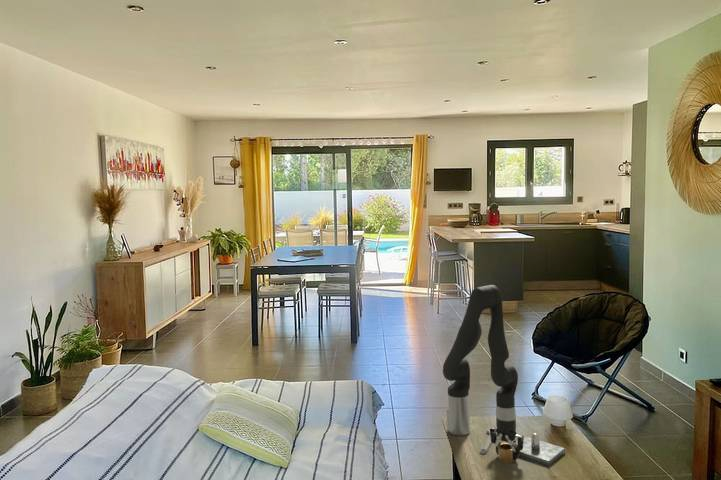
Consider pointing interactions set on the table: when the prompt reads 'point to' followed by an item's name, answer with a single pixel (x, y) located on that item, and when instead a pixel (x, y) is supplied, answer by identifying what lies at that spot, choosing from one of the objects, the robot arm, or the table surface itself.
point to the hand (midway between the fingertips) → (507, 457)
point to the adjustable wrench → (487, 443)
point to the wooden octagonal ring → (505, 453)
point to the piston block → (540, 450)
